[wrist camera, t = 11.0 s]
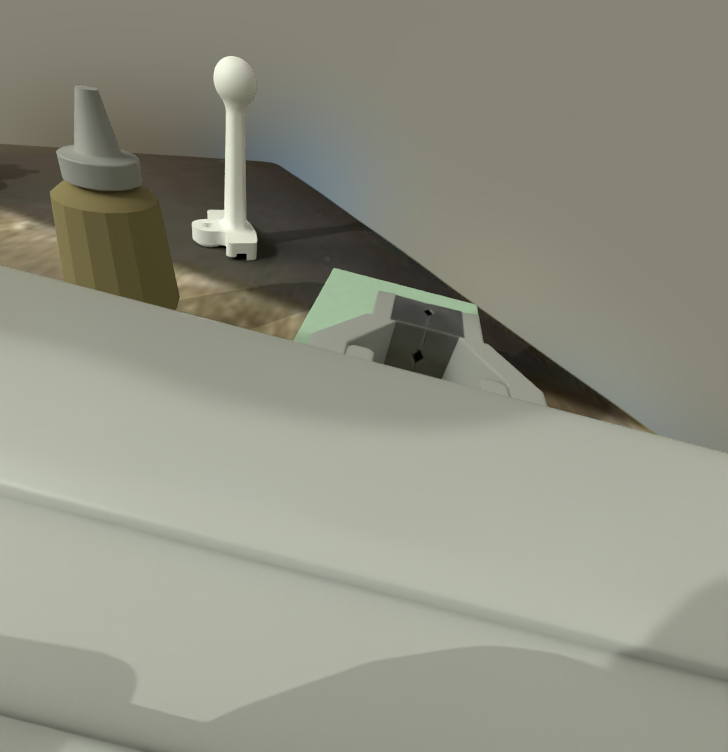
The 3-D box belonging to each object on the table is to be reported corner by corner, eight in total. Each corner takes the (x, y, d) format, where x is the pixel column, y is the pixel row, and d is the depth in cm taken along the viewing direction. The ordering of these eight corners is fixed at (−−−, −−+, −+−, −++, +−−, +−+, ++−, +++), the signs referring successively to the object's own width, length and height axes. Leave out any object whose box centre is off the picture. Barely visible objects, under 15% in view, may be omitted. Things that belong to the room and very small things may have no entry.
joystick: (264, 259, 52) (273, 68, 40) (202, 261, 48) (192, 51, 36) (240, 226, 59) (241, 54, 46) (184, 225, 55) (170, 38, 43)
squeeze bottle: (53, 338, 33) (-39, 66, 22) (132, 300, 39) (92, 74, 28) (132, 375, 31) (77, 105, 20) (202, 330, 38) (189, 104, 27)
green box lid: (332, 277, 32) (333, 267, 31) (473, 313, 32) (477, 304, 31) (265, 401, 20) (265, 389, 19) (492, 460, 20) (499, 449, 19)
